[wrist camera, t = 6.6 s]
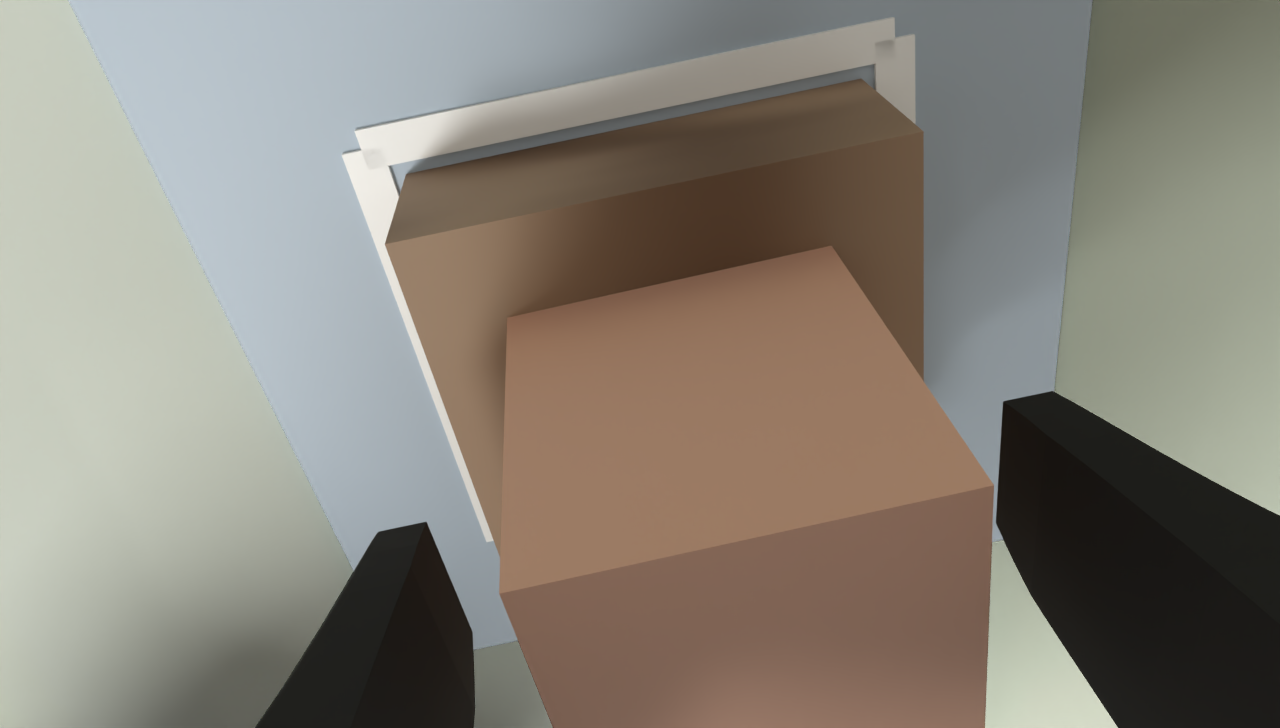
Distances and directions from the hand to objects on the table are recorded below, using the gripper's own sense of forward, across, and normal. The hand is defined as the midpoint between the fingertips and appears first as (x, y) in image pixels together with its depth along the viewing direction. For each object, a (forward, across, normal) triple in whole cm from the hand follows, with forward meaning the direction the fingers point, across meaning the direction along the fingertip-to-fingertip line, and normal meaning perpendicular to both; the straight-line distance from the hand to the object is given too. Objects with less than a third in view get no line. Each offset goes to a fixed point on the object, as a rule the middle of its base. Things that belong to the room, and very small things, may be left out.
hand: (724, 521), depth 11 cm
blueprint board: (+5, 0, 0) cm, 5 cm away
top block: (+2, 0, 0) cm, 3 cm away
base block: (+5, 0, 0) cm, 5 cm away
